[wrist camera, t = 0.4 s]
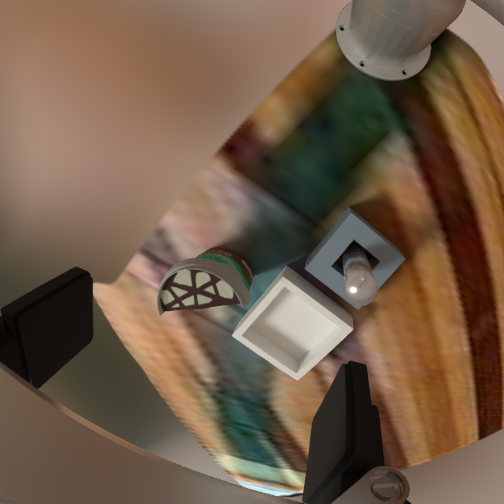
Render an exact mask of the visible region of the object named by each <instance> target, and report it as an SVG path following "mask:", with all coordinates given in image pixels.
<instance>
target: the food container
mask: <svg viewBox="0 0 504 504" xmlns="http://www.w3.org/2000/svg"><path fill="white" fill-rule="evenodd" d="M253 277H254V275H253V272H252V269H251V267H250V266H249V264H248V263H247V261H246V260H245V259H244V258H243V257H242V256H240V255H239V254H238V253H237V252H234V251H232V250H230V249H227V248H212V249H209V250H207V251H205V252H204V253H202V254H200V255H199V256H197V257H196V258H190V259H186V260H183V261H181V262H179V263H177V264H176V265H174V266H173V267H172V268H171V269H170V270H169V271H168V272H167V274H166V275H165V277H164V279H163V280H162V282H161V285H160V287H159V291H158V297H157V306H158V311H159V315H161V314H163V313H164V312H165V311H172V310H185V309H203V308H209V307H215V306H222V305H231V304H240V303H241V305H242V308H243V307H244V305H247V304H248V303H249V301H250V300H251V296H250V293H249V289H250V286H251V283H252V280H253Z"/></svg>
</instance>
